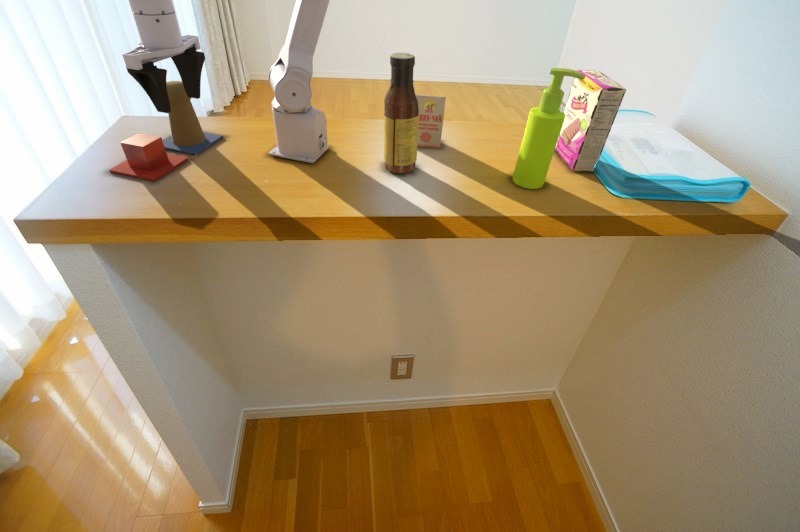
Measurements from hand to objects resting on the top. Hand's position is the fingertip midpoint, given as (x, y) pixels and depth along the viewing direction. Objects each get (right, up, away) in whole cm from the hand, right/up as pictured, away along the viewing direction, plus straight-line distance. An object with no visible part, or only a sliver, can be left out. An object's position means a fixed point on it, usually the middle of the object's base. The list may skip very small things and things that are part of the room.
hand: (179, 104), depth 70 cm
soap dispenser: (+62, -12, +8) cm, 64 cm away
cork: (-5, -2, +12) cm, 14 cm away
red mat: (-8, -9, +4) cm, 13 cm away
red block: (-8, -9, +4) cm, 12 cm away
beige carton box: (+43, -1, +19) cm, 47 cm away
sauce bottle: (+37, -9, +10) cm, 39 cm away
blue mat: (-5, -3, +13) cm, 14 cm away
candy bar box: (+74, -5, +17) cm, 76 cm away
